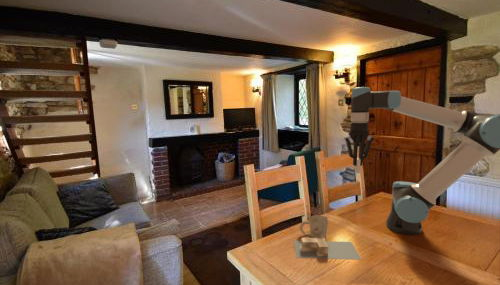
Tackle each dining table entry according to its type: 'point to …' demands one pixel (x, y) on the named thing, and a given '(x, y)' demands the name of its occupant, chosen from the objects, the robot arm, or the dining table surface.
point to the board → (330, 251)
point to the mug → (316, 225)
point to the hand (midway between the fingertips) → (357, 172)
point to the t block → (315, 245)
